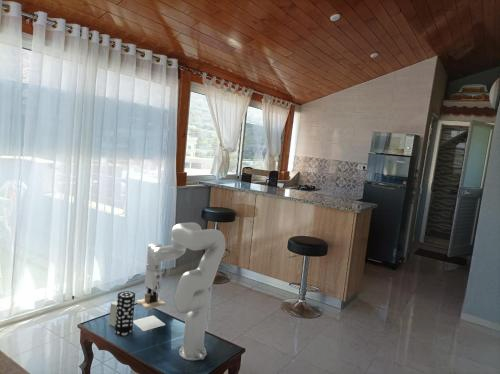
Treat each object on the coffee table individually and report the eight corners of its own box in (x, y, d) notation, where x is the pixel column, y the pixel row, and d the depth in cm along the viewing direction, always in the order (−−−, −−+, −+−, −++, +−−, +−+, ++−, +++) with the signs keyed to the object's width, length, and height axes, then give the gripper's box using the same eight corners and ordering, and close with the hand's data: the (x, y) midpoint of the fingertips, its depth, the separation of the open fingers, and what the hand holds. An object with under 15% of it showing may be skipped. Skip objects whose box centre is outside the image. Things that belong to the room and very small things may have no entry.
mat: (165, 325, 191) (165, 324, 191) (143, 332, 182) (143, 331, 182) (153, 316, 200) (153, 315, 200) (131, 322, 191) (131, 321, 191)
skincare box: (118, 321, 191) (119, 299, 190) (124, 323, 189) (125, 301, 188) (108, 325, 185) (110, 302, 184) (114, 328, 183) (116, 305, 182)
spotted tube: (122, 327, 185) (125, 290, 183) (135, 331, 182) (138, 293, 180) (110, 334, 177) (113, 295, 175) (124, 339, 174) (128, 299, 172)
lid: (165, 305, 190) (166, 295, 190) (146, 309, 182) (147, 299, 182) (155, 298, 198) (155, 288, 197) (136, 302, 190) (137, 292, 190)
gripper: (168, 270, 185) (165, 304, 187) (152, 261, 197) (149, 294, 198) (155, 272, 180) (152, 307, 181) (139, 263, 192) (137, 297, 193)
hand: (151, 300), depth 190 cm, fingers closed on lid, 3 cm apart
